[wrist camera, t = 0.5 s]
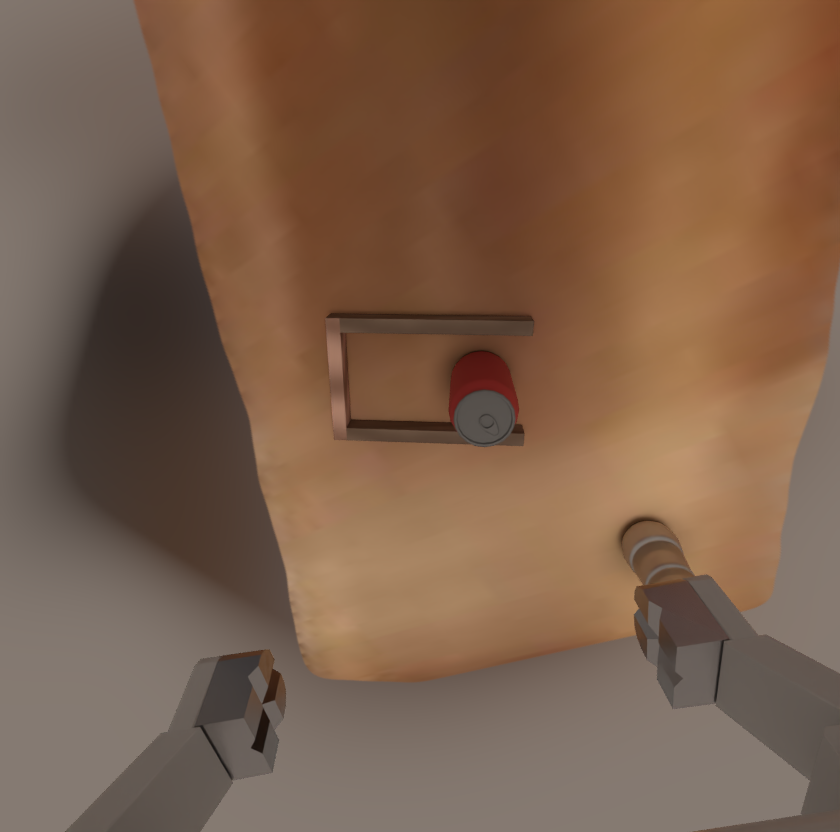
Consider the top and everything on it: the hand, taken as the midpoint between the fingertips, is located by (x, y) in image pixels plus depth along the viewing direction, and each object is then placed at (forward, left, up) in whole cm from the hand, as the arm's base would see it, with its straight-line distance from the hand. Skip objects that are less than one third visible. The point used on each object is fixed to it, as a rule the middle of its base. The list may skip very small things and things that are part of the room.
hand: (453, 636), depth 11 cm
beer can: (+9, +2, -46) cm, 47 cm away
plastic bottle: (+29, +23, -46) cm, 59 cm away
